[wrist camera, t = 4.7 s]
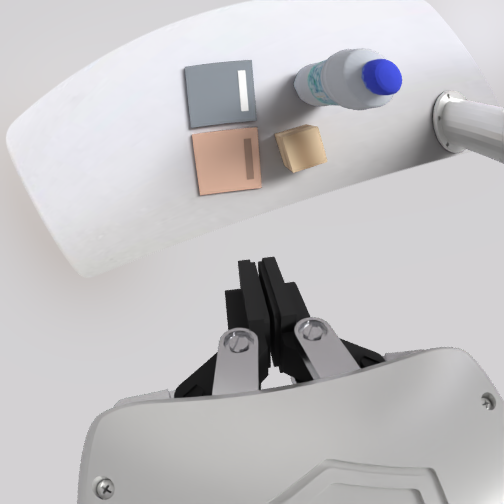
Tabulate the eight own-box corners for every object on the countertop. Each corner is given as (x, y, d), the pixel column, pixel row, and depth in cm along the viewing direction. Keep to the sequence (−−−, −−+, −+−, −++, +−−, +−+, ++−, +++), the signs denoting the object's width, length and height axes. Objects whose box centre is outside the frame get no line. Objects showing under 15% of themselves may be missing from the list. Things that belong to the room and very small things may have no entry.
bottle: (313, 116, 36) (392, 130, 19) (279, 85, 33) (340, 67, 16) (341, 87, 34) (432, 85, 17) (310, 56, 31) (387, 25, 14)
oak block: (306, 124, 37) (317, 126, 32) (314, 155, 39) (327, 161, 35) (274, 134, 37) (282, 137, 33) (284, 165, 39) (293, 172, 35)
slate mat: (251, 60, 31) (251, 59, 30) (256, 120, 36) (256, 120, 35) (185, 67, 30) (184, 66, 30) (191, 127, 35) (191, 127, 34)
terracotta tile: (256, 127, 36) (257, 127, 35) (260, 186, 41) (261, 188, 40) (192, 134, 35) (191, 134, 35) (200, 194, 40) (200, 195, 39)
